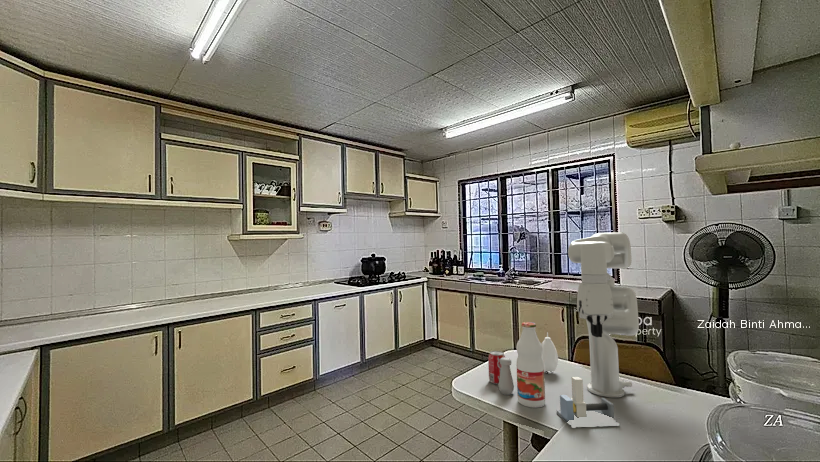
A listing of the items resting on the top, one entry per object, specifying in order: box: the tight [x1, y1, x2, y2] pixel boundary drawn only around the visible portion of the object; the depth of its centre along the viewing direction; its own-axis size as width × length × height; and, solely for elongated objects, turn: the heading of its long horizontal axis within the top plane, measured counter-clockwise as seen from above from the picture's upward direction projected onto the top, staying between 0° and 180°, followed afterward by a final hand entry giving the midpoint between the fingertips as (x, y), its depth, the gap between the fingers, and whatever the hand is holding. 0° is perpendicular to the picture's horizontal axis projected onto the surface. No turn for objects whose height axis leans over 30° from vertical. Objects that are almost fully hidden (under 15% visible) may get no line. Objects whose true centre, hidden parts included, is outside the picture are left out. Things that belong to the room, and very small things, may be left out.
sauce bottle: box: [541, 331, 559, 372], centre depth 156 cm, size 8×8×18 cm
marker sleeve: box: [569, 376, 587, 418], centre depth 112 cm, size 3×4×11 cm
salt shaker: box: [497, 356, 515, 396], centre depth 134 cm, size 6×6×13 cm
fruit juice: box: [515, 321, 546, 409], centre depth 126 cm, size 9×9×28 cm
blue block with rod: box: [556, 394, 615, 424], centre depth 112 cm, size 15×10×7 cm, turn 93°
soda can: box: [487, 350, 506, 386], centre depth 145 cm, size 7×7×12 cm
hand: (596, 336), depth 114 cm, fingers closed
